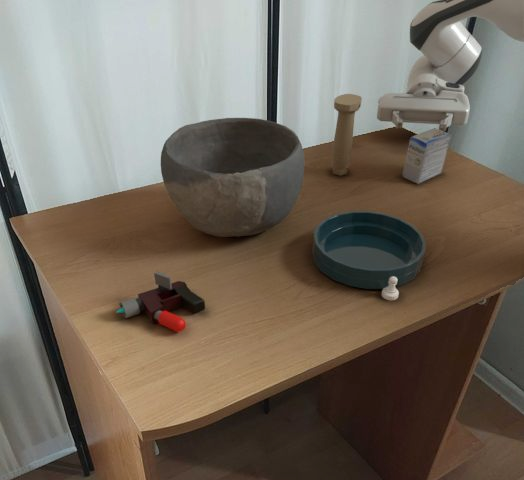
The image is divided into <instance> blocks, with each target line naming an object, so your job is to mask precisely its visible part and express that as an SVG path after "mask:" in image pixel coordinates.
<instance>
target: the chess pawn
mask: <svg viewBox="0 0 524 480" xmlns="http://www.w3.org/2000/svg"><path fill="white" fill-rule="evenodd" d="M397 281H398V279H397V278H396V277H394V276H392V277H390V278H389V282H388V283H389V286H388V287H385V288H384V289H381V297H382V298H383V299H384V300H386V301H396V300H397V299H398V298H399V294H400V291H399V290H398V289H397V287H395V285H396V284H397Z"/></svg>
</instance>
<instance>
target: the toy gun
mask: <svg viewBox="0 0 524 480" xmlns="http://www.w3.org/2000/svg"><path fill="white" fill-rule="evenodd" d="M153 274H154V275H153V276H154V281H155V285H157V287H155V288H153V289H149V290H147V291H144V292H140V293H138V294H137V298H135V297H132V298H129V299H126V300H123V301H120V302H119V307H120V308H119V309H118V310H117V311H115V313H121V314H122V315H123V316H124V319H129V318H131V317H134V316H138V315H140V314H141V313H142V312H143V313H145V315H146V316H147V318H148V319H149V321H150V323H151V324H156V323H157V322H158V324H159V325H161V326H164V327H166V328H167V329H170V330H172V331H174V332H177V333H181V332H182V331H184V330H185V329H186V326H187V323H186V321H185V319H184V318H182V317H180V316H179V315H176V314H174V313H172V312H171V311H173V310H176V309H179V308H185V309H186V310H188V311H189V312H191V313H192V314H196V313H199V312H202V311H204V310H206V304H205V302H206V301H205V299H204V298H202V297H201V296H199V295H198V294H196V293H194V292H193V291H192V290H191V289H190V288H189V287H188V286H187V285H188V284H187V283H186V281H180V280H177V281H174V282H172V279H171V276H169V275H167V274H165V273H162V272H159V271H155V272H153Z"/></svg>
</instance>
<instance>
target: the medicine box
mask: <svg viewBox="0 0 524 480" xmlns="http://www.w3.org/2000/svg"><path fill="white" fill-rule="evenodd" d="M451 138H452V134H450V133H448V132H446V131H442V130H439V128H436V127H433V128H431V129H429V130H425V131H423V132H420V133H418V134H415V135H413V136H411V137H410V138H409V143H408V147H407V152H406V158H405V162H404V166H403V171H402V177H403V178H404V179H406V180H407V181H410V182H413V183H415V184H417V185H419V184H421V183H423V182H426V181H427V180H430V179H431V178H434V177H436V176H439V175H440V174H442V172H443V168H444V165H445V160H446V157H447V153H448V151H449V150H448V149H449V145H450V143H451V142H450V141H451Z"/></svg>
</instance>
